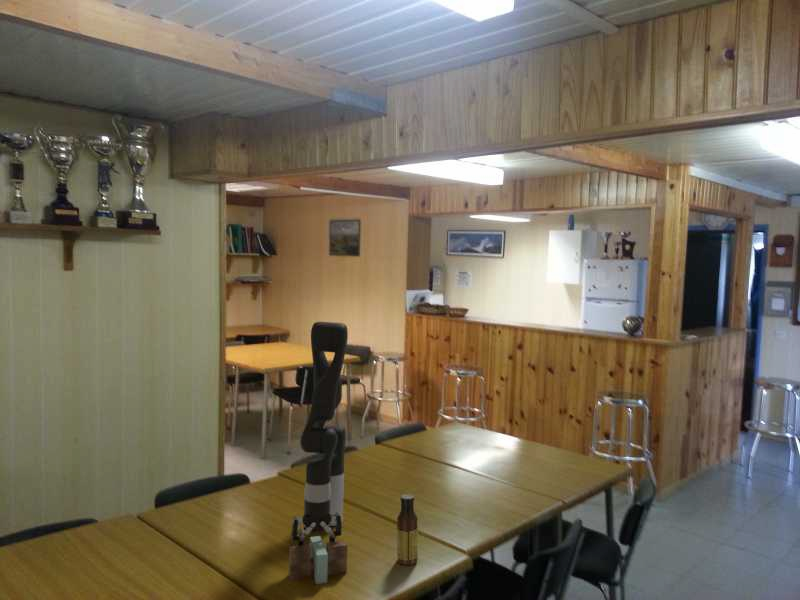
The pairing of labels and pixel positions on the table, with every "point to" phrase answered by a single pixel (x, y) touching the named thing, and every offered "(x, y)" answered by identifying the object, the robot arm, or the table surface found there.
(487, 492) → the table surface
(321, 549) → the teal board
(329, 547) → the walnut u-shaped block
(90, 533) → the table surface
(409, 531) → the sauce bottle
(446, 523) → the table surface
